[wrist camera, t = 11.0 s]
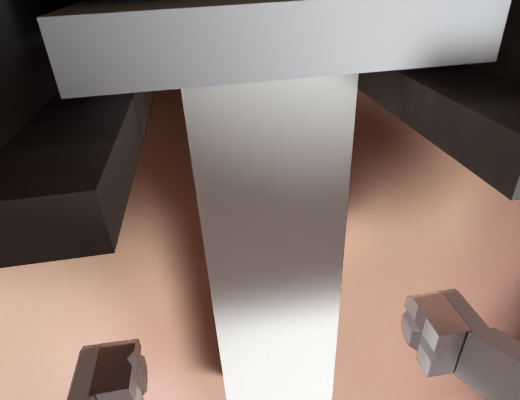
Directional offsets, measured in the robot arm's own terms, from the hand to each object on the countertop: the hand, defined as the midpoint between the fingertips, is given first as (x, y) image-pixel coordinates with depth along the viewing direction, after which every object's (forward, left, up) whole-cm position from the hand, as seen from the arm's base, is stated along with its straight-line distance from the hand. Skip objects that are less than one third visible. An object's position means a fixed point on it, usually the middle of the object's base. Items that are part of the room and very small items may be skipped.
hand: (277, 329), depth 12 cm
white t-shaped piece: (0, 0, -5) cm, 5 cm away
